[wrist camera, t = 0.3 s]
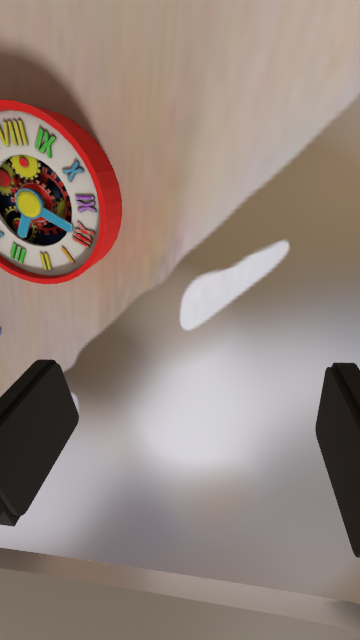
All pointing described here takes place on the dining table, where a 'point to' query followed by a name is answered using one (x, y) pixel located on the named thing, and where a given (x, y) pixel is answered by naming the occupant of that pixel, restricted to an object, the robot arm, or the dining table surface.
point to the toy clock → (53, 196)
